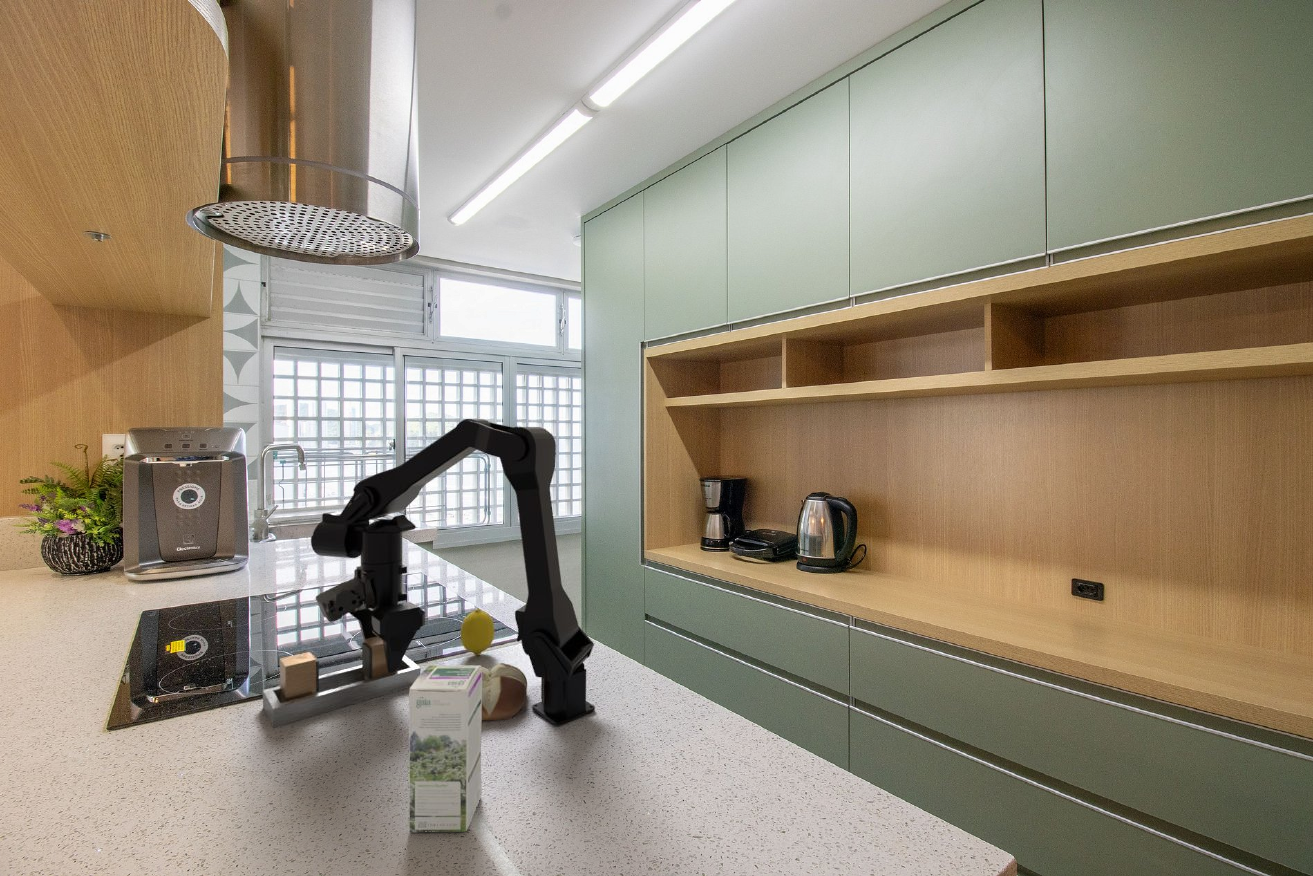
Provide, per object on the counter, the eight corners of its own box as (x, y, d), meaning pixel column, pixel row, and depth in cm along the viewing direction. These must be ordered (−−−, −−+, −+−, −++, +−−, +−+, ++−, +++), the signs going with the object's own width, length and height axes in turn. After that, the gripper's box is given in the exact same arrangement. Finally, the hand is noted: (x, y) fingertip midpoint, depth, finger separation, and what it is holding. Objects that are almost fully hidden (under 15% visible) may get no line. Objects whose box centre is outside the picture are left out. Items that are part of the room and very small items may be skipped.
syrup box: (483, 796, 62) (483, 662, 61) (466, 835, 56) (467, 687, 55) (429, 797, 61) (429, 662, 61) (406, 836, 55) (407, 687, 55)
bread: (529, 685, 88) (530, 653, 88) (524, 723, 77) (524, 686, 77) (454, 689, 87) (454, 656, 87) (437, 729, 75) (437, 691, 75)
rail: (420, 684, 88) (420, 638, 88) (273, 727, 75) (273, 674, 75) (403, 669, 93) (403, 626, 93) (263, 708, 80) (262, 658, 80)
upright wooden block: (397, 679, 87) (397, 640, 87) (369, 687, 84) (369, 646, 84) (389, 671, 90) (389, 633, 90) (361, 679, 87) (361, 640, 87)
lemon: (473, 664, 95) (473, 616, 95) (453, 656, 99) (454, 609, 98) (500, 654, 100) (501, 608, 99) (481, 646, 103) (481, 602, 103)
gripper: (305, 557, 88) (305, 658, 89) (340, 582, 75) (340, 701, 75) (382, 547, 96) (382, 640, 96) (426, 568, 82) (426, 676, 83)
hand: (381, 662), depth 87 cm, fingers open, 9 cm apart
